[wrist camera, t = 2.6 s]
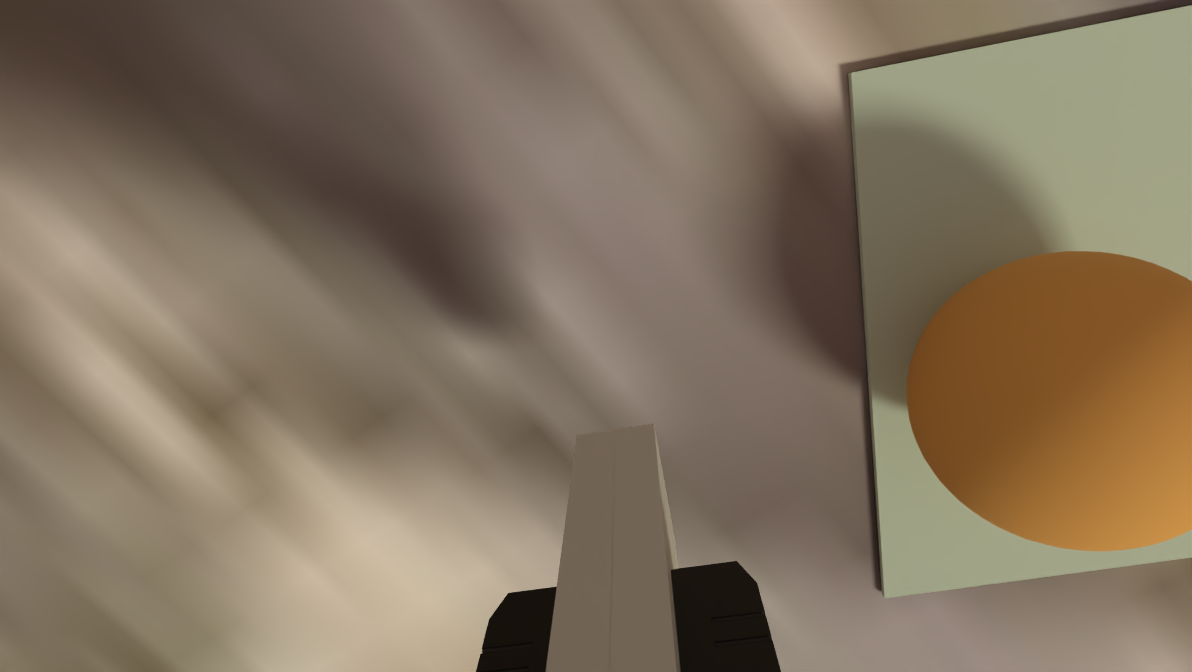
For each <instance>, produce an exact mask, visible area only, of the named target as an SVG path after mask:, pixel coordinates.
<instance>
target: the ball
mask: <svg viewBox="0 0 1192 672" xmlns="http://www.w3.org/2000/svg"><path fill="white" fill-rule="evenodd" d="M906 397H907V406H908V414H909V421H910V424H911V428H912V431H913V435H914V437H915V439H916V442H917V444H918V446H919V449H920V451H921V453H922V455H923V457H924V459H925V460H926V462H927V463H928V465H929V466H930V468H931V469H932V471H933V472H934V474H935V475H936V476H937V478H938V479H939V481H940V482H941V483H942V484H943V485H944V486H945V487H946V488H947V489H948V490H949V491H950V492H951V493H952V494H953V495H954V496H955V497H956V498H957V499H958V500H959V501H960V502H961V503H963V504H964V505H965V506H966V507H968V508H969V509H970V510H972V511H973V512H974V513H976V514H977V515H979V516H980V517H982V518H983V519H985V520H987V521H988V522H990V523H992V524H994V525H995V526H997V527H999V528H1001V529H1003V530H1006V531H1008V532H1010V533H1012V534H1015V535H1017V536H1020V537H1022V538H1025V539H1027V540H1031V541H1035V542H1038V543H1042V544H1046V545H1050V546H1054V547H1057V548H1064V549H1072V550H1082V551H1116V550H1126V549H1134V548H1139V547H1145V546H1150V545H1154V544H1157V543H1161V542H1164V541H1167V540H1170V539H1172V538H1175V537H1177V536H1180V535H1182V534H1184V533H1186V532H1188V531H1190V530H1192V281H1190V280H1189V279H1187V278H1186V277H1184V276H1182V275H1179V274H1177V273H1175V272H1173V271H1171V270H1169V269H1166V268H1164V267H1161V266H1159V265H1157V264H1154V263H1151V262H1148V261H1144V260H1141V259H1137V258H1134V257H1129V256H1124V255H1120V254H1113V253H1106V252H1093V251H1063V252H1054V253H1046V254H1041V255H1036V256H1032V257H1027V258H1023V259H1019V260H1016V261H1013V262H1010V263H1008V264H1005V265H1002V266H1000V267H998V268H996V269H994V270H992V271H989V272H987V273H985V274H983V275H981V276H979V277H978V278H976V279H975V280H973V281H971V282H970V283H968V284H967V285H965V286H964V287H963V288H961V289H960V290H959V291H957V292H956V293H955V294H954V295H952V296H951V297H950V298H949V299H948V300H947V301H946V302H945V303H944V304H943V305H942V306H941V307H940V308H939V310H938V311H937V312H936V313H935V315H934V316H933V317H932V318H931V320H930V321H929V323H928V324H927V326H926V327H925V329H924V331H923V332H922V334H921V336H920V338H919V340H918V343H917V345H916V347H915V350H914V353H913V356H912V359H911V362H910V367H909V372H908V378H907V394H906Z"/></svg>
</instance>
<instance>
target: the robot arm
mask: <svg viewBox="0 0 1192 672" xmlns="http://www.w3.org/2000/svg"><path fill="white" fill-rule="evenodd" d="M476 672H781V670H780V666H779V663H778V659H777V655H776V652H775V648H774V644H773V641H772V638H771V633H770V629H769V626H768V622H767V618H766V616H765V611H764V607H763V603H762V600H761V596H760V592H759V589H758V585H757V582H756V581H755V580H754V579H753V578H752V577H751V576H750V575H749V574H748V573H747V572H746V571H745V570H744V568H743V567H742V566H741V565H740V564H739V563H738V562H737V561H733V562H726V563H718V564H710V565H703V566H695V567H687V568H680V569H678V562H677V553H676V545H675V538H674V533H673V527H672V521H671V516H670V510H669V505H668V499H667V494H666V488H665V483H664V477H663V472H662V466H661V460H660V455H659V449H658V444H657V438H656V433H655V427H654V424H648V425H642V426H635V427H629V428H622V429H615V430H609V431H602V432H596V433H589V434H583V435H577V438H576V446H575V454H574V461H573V469H572V476H571V484H570V491H569V499H568V506H567V514H566V521H565V529H564V537H563V544H562V552H561V559H560V567H559V574H558V582H557V587H551V588H543V589H536V590H528V591H520V592H513V593H508V594H507V596H506V597H505V598H504V600H503V601H502V603H501V604H500V605H499V607H498V608H497V609H496V611H495V612H494V614H493V615H492V616H491V618H490V619H489V622H488V626H487V630H486V634H485V638H484V642H483V646H482V654H480V658H479V662H478V666H477V670H476Z"/></svg>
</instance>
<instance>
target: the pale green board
mask: <svg viewBox="0 0 1192 672" xmlns="http://www.w3.org/2000/svg"><path fill="white" fill-rule="evenodd" d="M848 78H849V94H850V109H851V124H852V140H853V155H854V171H855V186H856V202H857V217H858V232H859V248H860V263H861V279H862V294H863V310H864V325H865V341H866V356H867V371H868V387H869V402H870V418H871V433H872V449H873V464H874V479H875V495H876V510H877V526H878V541H879V557H880V572H881V587H882V595H883V596H884V598H891V597H898V596H906V595H913V594H920V593H928V592H935V591H943V590H950V589H958V588H965V587H973V586H980V585H988V584H995V583H1003V582H1010V581H1018V580H1025V579H1033V578H1040V577H1048V576H1055V575H1063V574H1070V573H1078V572H1085V571H1093V570H1100V569H1108V568H1115V567H1123V566H1130V565H1138V564H1145V563H1153V562H1160V561H1168V560H1175V559H1183V558H1190V557H1192V530H1190V531H1188V532H1186V533H1184V534H1182V535H1180V536H1177V537H1175V538H1172V539H1170V540H1167V541H1164V542H1161V543H1157V544H1154V545H1150V546H1145V547H1139V548H1134V549H1126V550H1116V551H1082V550H1072V549H1064V548H1057V547H1054V546H1050V545H1046V544H1042V543H1038V542H1035V541H1031V540H1027V539H1025V538H1022V537H1020V536H1017V535H1015V534H1012V533H1010V532H1008V531H1006V530H1003V529H1001V528H999V527H997V526H995V525H994V524H992V523H990V522H988V521H987V520H985V519H983V518H982V517H980V516H979V515H977V514H976V513H974V512H973V511H972V510H970V509H969V508H968V507H966V506H965V505H964V504H963V503H961V502H960V501H959V500H958V499H957V498H956V497H955V496H954V495H953V494H952V493H951V492H950V491H949V490H948V489H947V488H946V487H945V486H944V485H943V484H942V483H941V482H940V481H939V479H938V478H937V476H936V475H935V474H934V472H933V471H932V469H931V468H930V466H929V465H928V463H927V462H926V460H925V459H924V457H923V455H922V453H921V451H920V449H919V446H918V444H917V442H916V439H915V437H914V435H913V431H912V428H911V424H910V421H909V414H908V406H907V397H906V394H907V378H908V372H909V367H910V362H911V359H912V356H913V353H914V350H915V347H916V345H917V343H918V340H919V338H920V336H921V334H922V332H923V331H924V329H925V327H926V326H927V324H928V323H929V321H930V320H931V318H932V317H933V316H934V315H935V313H936V312H937V311H938V310H939V308H940V307H941V306H942V305H943V304H944V303H945V302H946V301H947V300H948V299H949V298H950V297H951V296H952V295H954V294H955V293H956V292H957V291H959V290H960V289H961V288H963V287H964V286H965V285H967V284H968V283H970V282H971V281H973V280H975V279H976V278H978V277H979V276H981V275H983V274H985V273H987V272H989V271H992V270H994V269H996V268H998V267H1000V266H1002V265H1005V264H1008V263H1010V262H1013V261H1016V260H1019V259H1023V258H1027V257H1032V256H1036V255H1041V254H1046V253H1054V252H1063V251H1093V252H1106V253H1113V254H1120V255H1124V256H1129V257H1134V258H1137V259H1141V260H1144V261H1148V262H1151V263H1154V264H1157V265H1159V266H1161V267H1164V268H1166V269H1169V270H1171V271H1173V272H1175V273H1177V274H1179V275H1182V276H1184V277H1186V278H1187V279H1189V280H1190V281H1192V5H1189V6H1184V7H1179V8H1174V9H1169V10H1164V11H1159V12H1154V13H1149V14H1144V15H1139V16H1134V17H1129V18H1124V19H1119V20H1114V21H1109V22H1104V23H1099V24H1094V25H1088V26H1083V27H1078V28H1073V29H1068V30H1063V31H1058V32H1053V33H1048V34H1043V35H1038V36H1033V37H1028V38H1023V39H1018V40H1013V41H1008V42H1003V43H998V44H993V45H988V46H982V47H977V48H972V49H967V50H962V51H957V52H952V53H947V54H942V55H937V56H932V57H927V58H922V59H917V60H912V61H907V62H902V63H897V64H892V65H887V66H882V67H877V68H871V69H866V70H861V71H856V72H851V73H848Z"/></svg>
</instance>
